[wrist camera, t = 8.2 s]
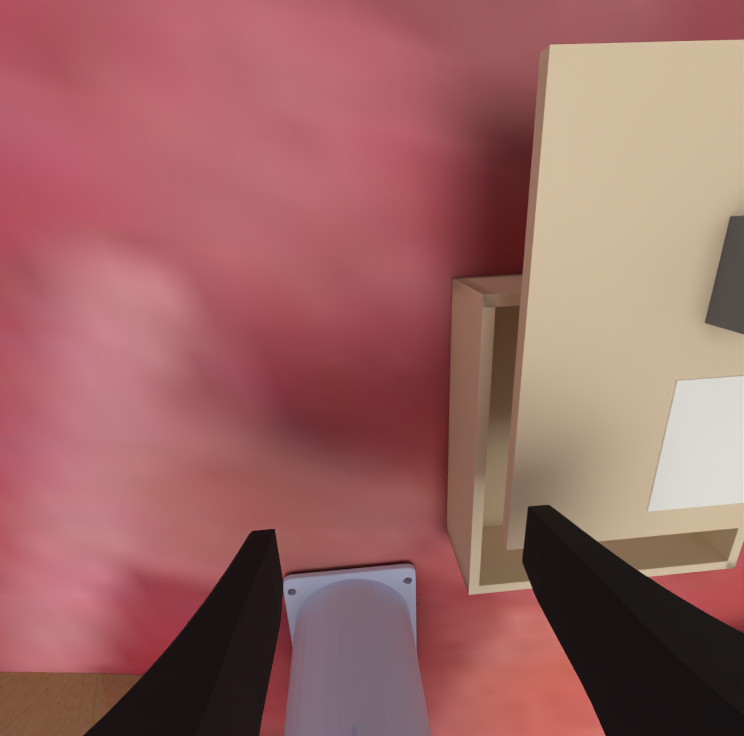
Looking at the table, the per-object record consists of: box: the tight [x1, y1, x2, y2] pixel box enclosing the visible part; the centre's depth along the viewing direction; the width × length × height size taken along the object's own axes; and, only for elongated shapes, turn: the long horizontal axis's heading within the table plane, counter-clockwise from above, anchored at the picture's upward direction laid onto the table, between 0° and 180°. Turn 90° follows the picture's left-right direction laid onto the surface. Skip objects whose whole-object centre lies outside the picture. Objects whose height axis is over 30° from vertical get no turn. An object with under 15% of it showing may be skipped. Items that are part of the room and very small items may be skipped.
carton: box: [447, 274, 744, 595], centre depth 21 cm, size 15×14×4 cm
